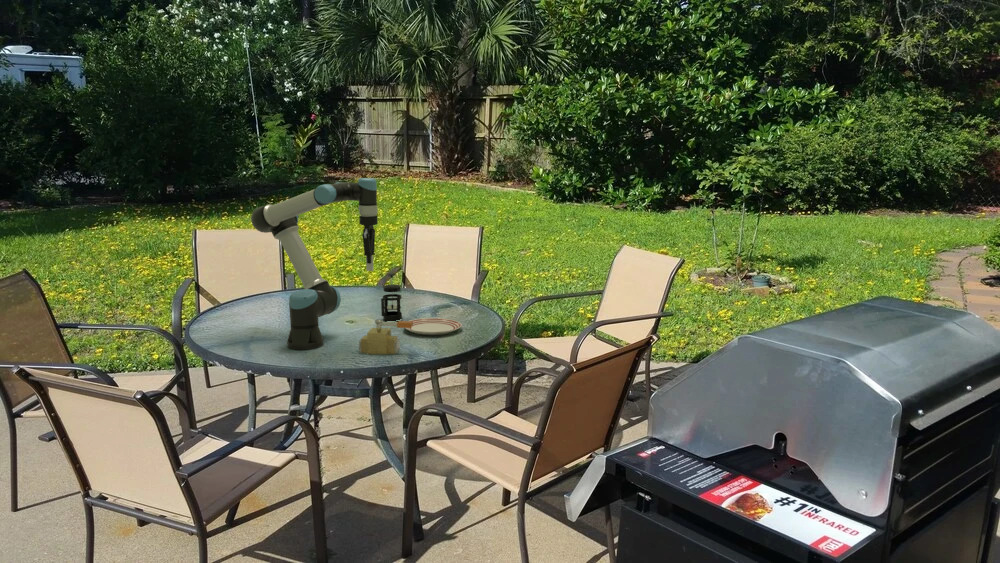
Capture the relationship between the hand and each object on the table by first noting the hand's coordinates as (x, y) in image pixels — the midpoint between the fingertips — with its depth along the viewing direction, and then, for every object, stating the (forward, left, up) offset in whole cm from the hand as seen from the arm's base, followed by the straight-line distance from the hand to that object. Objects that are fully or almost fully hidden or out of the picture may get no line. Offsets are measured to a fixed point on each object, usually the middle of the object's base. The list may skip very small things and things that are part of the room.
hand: (370, 270), depth 314 cm
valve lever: (+12, -11, -23) cm, 28 cm away
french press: (-1, +42, -33) cm, 53 cm away
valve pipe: (+6, -11, -32) cm, 35 cm away
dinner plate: (+22, +25, -33) cm, 47 cm away
